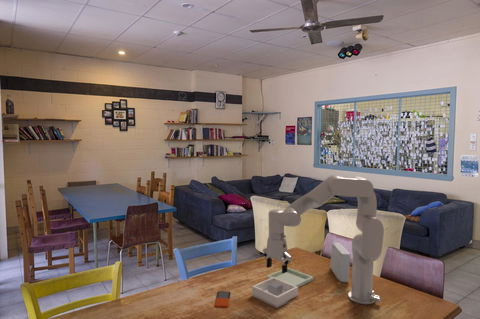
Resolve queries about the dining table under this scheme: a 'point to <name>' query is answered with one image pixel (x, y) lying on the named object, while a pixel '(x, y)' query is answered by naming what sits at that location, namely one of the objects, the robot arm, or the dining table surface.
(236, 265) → the dining table surface
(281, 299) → the white bin
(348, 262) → the skincare box
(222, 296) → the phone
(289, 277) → the green tray
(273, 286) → the slate stone block
